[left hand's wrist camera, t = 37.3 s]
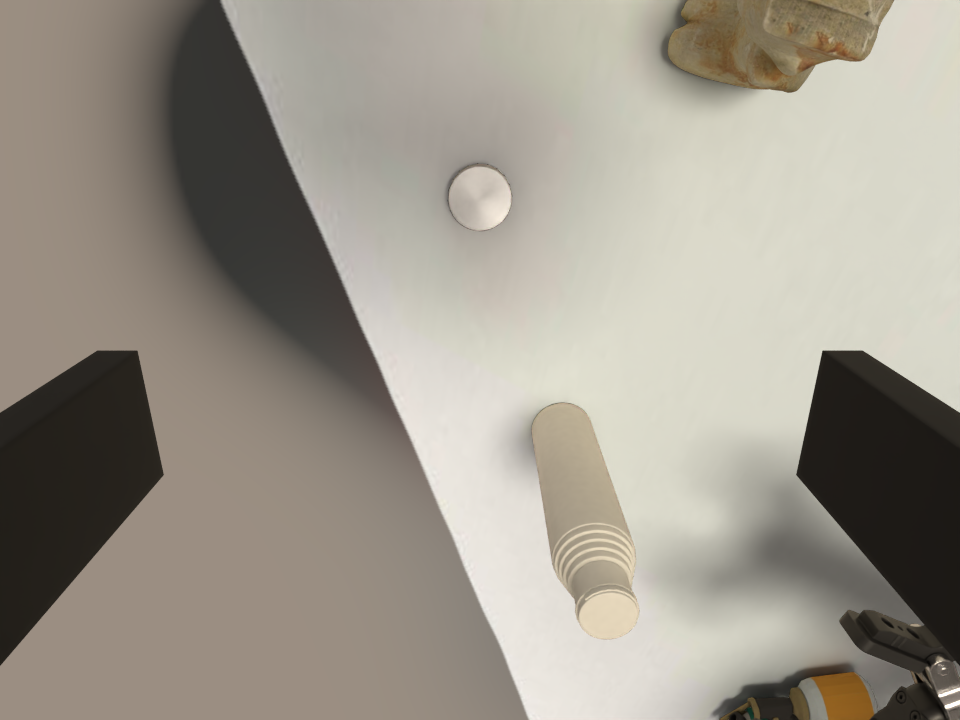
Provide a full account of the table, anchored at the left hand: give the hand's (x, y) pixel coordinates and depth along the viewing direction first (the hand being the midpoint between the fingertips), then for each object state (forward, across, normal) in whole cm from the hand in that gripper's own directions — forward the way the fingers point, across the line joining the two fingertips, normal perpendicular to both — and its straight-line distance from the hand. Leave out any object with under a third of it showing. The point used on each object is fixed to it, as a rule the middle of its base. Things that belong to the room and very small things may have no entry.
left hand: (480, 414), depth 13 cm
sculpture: (+33, +15, +9) cm, 37 cm away
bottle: (+33, +6, -18) cm, 38 cm away
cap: (+32, 0, 0) cm, 32 cm away
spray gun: (+33, +32, -50) cm, 68 cm away
